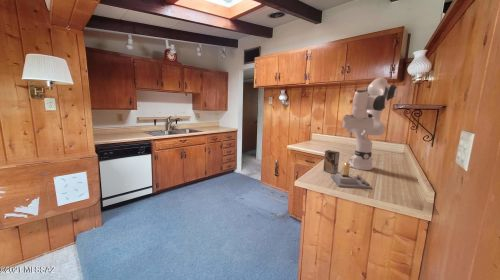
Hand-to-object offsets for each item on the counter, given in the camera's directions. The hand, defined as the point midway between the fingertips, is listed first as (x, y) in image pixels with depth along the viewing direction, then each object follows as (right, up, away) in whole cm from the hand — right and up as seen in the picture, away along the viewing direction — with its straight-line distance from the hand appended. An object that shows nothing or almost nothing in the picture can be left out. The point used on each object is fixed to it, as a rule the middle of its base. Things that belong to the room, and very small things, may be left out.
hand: (356, 135), depth 142 cm
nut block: (-5, -32, -2) cm, 32 cm away
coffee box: (-10, -28, +20) cm, 36 cm away
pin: (-8, -31, -2) cm, 32 cm away
